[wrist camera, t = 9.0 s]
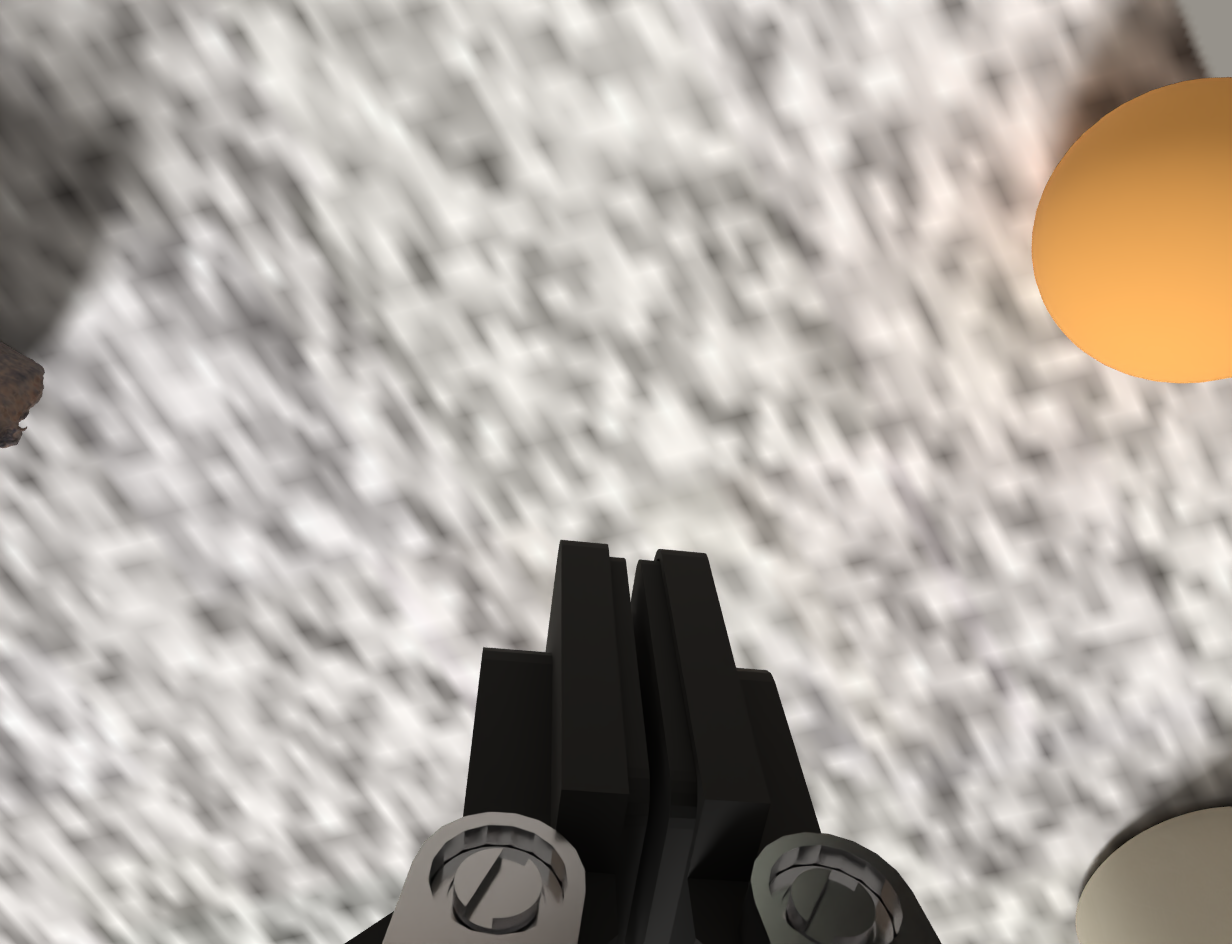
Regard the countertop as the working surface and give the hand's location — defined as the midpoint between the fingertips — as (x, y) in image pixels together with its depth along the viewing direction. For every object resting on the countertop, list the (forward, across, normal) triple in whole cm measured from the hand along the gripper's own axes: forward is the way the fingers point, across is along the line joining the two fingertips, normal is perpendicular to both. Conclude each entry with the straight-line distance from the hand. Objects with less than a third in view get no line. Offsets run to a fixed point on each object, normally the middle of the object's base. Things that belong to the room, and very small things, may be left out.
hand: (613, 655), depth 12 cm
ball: (+10, -12, -4) cm, 16 cm away
